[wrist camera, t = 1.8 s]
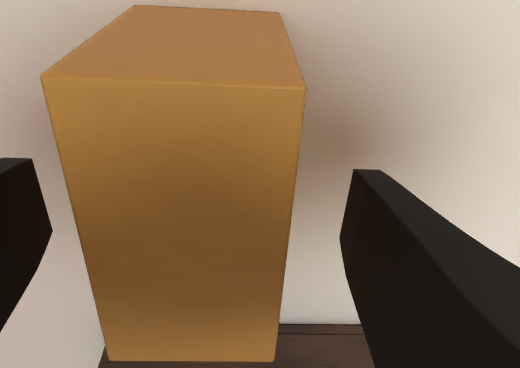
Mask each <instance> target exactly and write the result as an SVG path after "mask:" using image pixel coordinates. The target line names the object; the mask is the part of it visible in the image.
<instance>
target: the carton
mask: <svg viewBox="0 0 520 368" xmlns="http://www.w3.org/2000/svg"><path fill="white" fill-rule="evenodd" d="M40 79H41V83H42V87H43V91H44V95H45V100H46V104H47V108H48V112H49V116H50V120H51V124H52V128H53V132H54V136H55V140H56V145H57V149H58V153H59V157H60V161H61V165H62V169H63V173H64V177H65V181H66V186H67V190H68V194H69V198H70V202H71V206H72V210H73V214H74V218H75V222H76V226H77V231H78V235H79V239H80V243H81V247H82V251H83V255H84V259H85V263H86V267H87V271H88V276H89V280H90V284H91V288H92V292H93V296H94V300H95V304H96V308H97V312H98V316H99V321H100V325H101V329H102V333H103V337H104V341H105V345H106V349H107V353H108V357H109V360H111V361H233V362H272V361H274V359H275V351H276V343H277V334H278V326H279V317H280V309H281V300H282V292H283V283H284V275H285V267H286V258H287V250H288V241H289V233H290V224H291V216H292V207H293V199H294V191H295V182H296V174H297V165H298V157H299V148H300V140H301V132H302V123H303V115H304V106H305V98H306V89H307V88H306V85H305V82H304V79H303V77H302V74H301V71H300V68H299V66H298V63H297V60H296V58H295V55H294V52H293V49H292V47H291V44H290V41H289V39H288V36H287V33H286V30H285V28H284V25H283V22H282V19H281V17H280V14H279V13H277V12H258V11H239V10H219V9H200V8H180V7H160V6H141V5H134V6H133V7H131V8H130V9H128V10H127V11H126V12H124V13H123V14H122V15H120V16H119V17H118V18H116V19H115V20H114V21H112V22H111V23H109V24H108V25H107V26H105V27H104V28H103V29H101V30H100V31H99V32H97V33H96V34H95V35H93V36H92V37H90V38H89V39H88V40H86V41H85V42H84V43H82V44H81V45H80V46H78V47H77V48H76V49H74V50H73V51H72V52H70V53H69V54H67V55H66V56H65V57H63V58H62V59H61V60H59V61H58V62H57V63H55V64H54V65H53V66H51V67H50V68H48V69H47V70H46V71H44V72H43V73H42V74H41V77H40Z"/></svg>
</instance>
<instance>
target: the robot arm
mask: <svg viewBox="0 0 520 368" xmlns="http://www.w3.org/2000/svg"><path fill="white" fill-rule="evenodd" d="M52 232H53V230H52V227H51V223H50V220H49V216H48V213H47V209H46V206H45V202H44V199H43V195H42V192H41V188H40V185H39V182H38V178H37V175H36V171H35V168H34V164H33V161H32V159H29V158H1V159H0V332H1V330H2V328H3V327H4V325H5V323H6V322H7V320H8V318H9V317H10V315H11V313H12V312H13V310H14V308H15V307H16V305H17V303H18V302H19V300H20V298H21V297H22V295H23V293H24V291H25V290H26V288H27V286H28V285H29V283H30V281H31V279H32V278H33V276H34V274H35V272H36V271H37V269H38V266H39V264H40V262H41V259H42V257H43V255H44V252H45V250H46V247H47V245H48V242H49V239H50V237H51V234H52ZM339 239H340V245H341V251H342V257H343V263H344V268H345V274H346V278H347V281H348V284H349V288H350V291H351V294H352V297H353V300H354V304H355V307H356V310H357V313H358V316H359V319H360V322H361V326H362V329H363V332H364V335H365V338H366V341H367V344H368V348H369V351H370V354H371V357H372V360H373V363H374V367H375V368H520V268H519V267H518V266H516V265H514V264H513V263H511V262H509V261H508V260H506V259H504V258H503V257H501V256H499V255H498V254H496V253H495V252H493V251H492V250H490V249H489V248H487V247H486V246H484V245H483V244H481V243H480V242H478V241H477V240H475V239H474V238H472V237H471V236H469V235H468V234H466V233H465V232H463V231H462V230H460V229H459V228H458V227H456V226H455V225H453V224H452V223H451V222H449V221H448V220H447V219H445V218H444V217H442V216H441V215H440V214H438V213H437V212H436V211H434V210H433V209H432V208H430V207H429V206H428V205H426V204H425V203H424V202H423V201H421V200H420V199H419V198H417V197H416V196H415V195H413V194H412V193H411V192H410V191H408V190H407V189H406V188H404V187H403V186H402V185H400V184H399V183H398V182H397V181H395V180H394V179H392V178H391V177H390V176H388V175H387V174H385V173H384V172H382V171H381V170H366V169H353V174H352V179H351V184H350V189H349V194H348V199H347V203H346V208H345V213H344V218H343V223H342V228H341V232H340V237H339Z"/></svg>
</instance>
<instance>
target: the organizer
mask: <svg viewBox="0 0 520 368" xmlns="http://www.w3.org/2000/svg"><path fill="white" fill-rule="evenodd" d="M98 368H375V367H374V363H373V360H372V357H371V354H370V351H369V348H368V344H367V341H366V338H365V335H364V332H363V329H362V326H360V325H279V326H278V334H277V343H276V351H275V359H274V361H272V362H233V361H111V360H109V357H108V353H107V349H106V345H105V348H104V351H103V354H102V357H101V360H100V363H99V366H98Z"/></svg>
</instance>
